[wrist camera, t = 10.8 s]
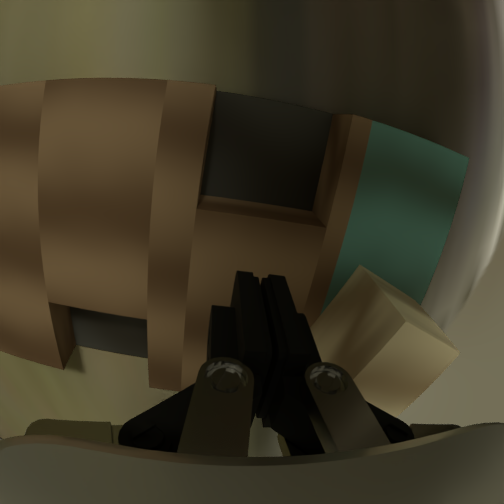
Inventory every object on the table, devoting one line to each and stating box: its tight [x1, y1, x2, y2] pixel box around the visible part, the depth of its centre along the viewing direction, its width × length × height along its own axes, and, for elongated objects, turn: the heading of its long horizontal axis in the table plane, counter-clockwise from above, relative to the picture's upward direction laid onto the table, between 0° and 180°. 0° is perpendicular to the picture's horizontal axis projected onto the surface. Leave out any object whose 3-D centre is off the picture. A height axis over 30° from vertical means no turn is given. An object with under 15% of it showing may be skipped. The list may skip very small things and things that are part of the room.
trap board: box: [0, 78, 469, 391], centre depth 16 cm, size 17×29×3 cm, turn 80°
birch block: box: [310, 265, 460, 417], centre depth 15 cm, size 5×5×5 cm
